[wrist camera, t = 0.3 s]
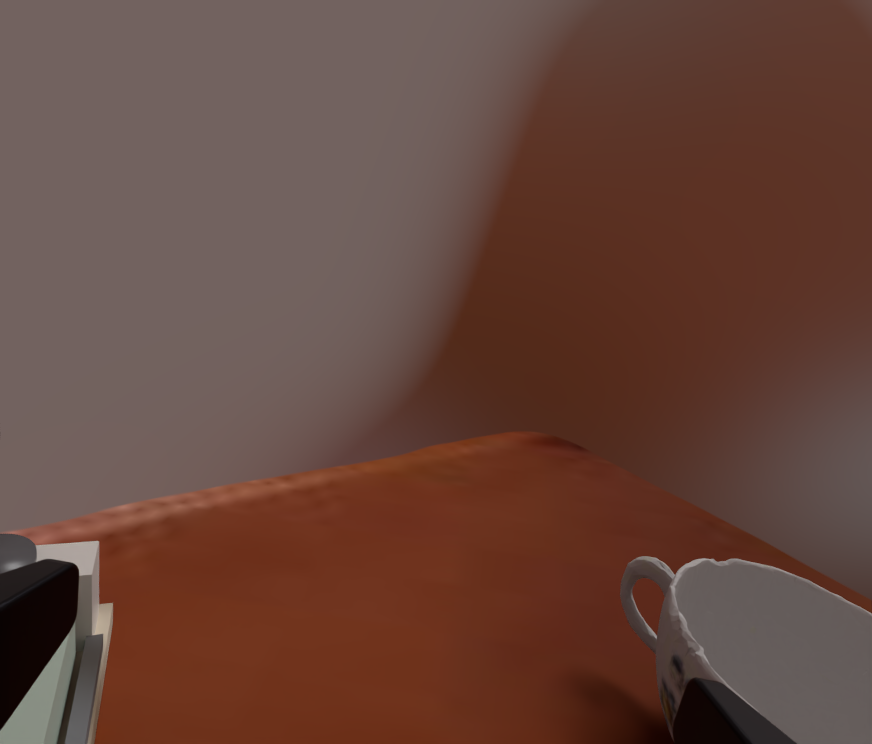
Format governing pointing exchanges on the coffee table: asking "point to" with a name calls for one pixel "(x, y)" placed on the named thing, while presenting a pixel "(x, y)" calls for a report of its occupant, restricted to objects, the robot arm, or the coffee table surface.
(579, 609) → the coffee table surface
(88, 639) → the rail track
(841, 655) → the teacup
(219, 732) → the coffee table surface
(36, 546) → the end blocks
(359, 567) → the coffee table surface
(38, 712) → the carriage
